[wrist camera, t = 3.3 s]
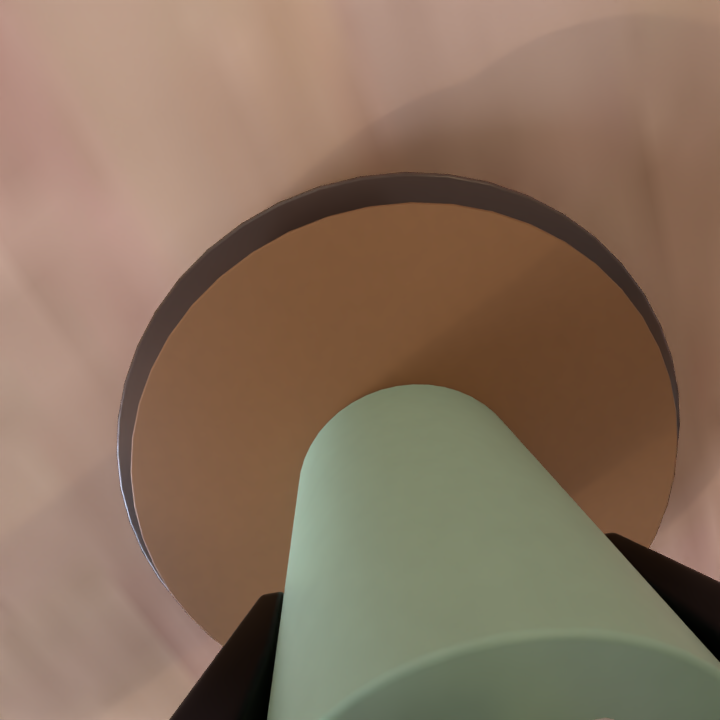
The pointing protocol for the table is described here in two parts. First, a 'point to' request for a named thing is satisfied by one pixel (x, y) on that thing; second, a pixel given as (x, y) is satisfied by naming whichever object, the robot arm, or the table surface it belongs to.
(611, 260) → the base
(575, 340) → the soap bottle
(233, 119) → the table surface
